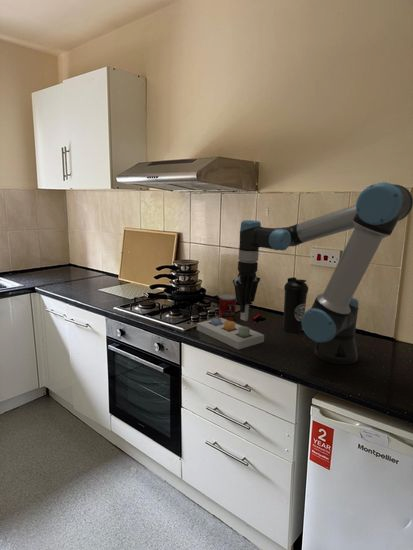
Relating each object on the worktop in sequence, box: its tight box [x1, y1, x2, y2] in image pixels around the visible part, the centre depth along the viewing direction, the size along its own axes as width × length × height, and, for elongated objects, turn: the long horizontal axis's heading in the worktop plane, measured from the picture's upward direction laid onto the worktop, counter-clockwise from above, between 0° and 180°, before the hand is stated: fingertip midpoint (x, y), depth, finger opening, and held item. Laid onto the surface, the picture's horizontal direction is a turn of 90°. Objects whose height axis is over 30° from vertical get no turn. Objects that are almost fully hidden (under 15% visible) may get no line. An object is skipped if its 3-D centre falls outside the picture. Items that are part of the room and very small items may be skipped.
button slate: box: [210, 317, 221, 326], centre depth 167 cm, size 4×4×4 cm
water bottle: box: [282, 276, 309, 334], centre depth 170 cm, size 10×10×23 cm
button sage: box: [238, 325, 251, 338], centre depth 154 cm, size 4×4×4 cm
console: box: [196, 317, 265, 350], centre depth 161 cm, size 26×14×3 cm, turn 39°
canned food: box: [218, 294, 237, 321], centre depth 182 cm, size 8×8×11 cm
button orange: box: [224, 320, 236, 332], centre depth 161 cm, size 4×4×4 cm
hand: (244, 319), depth 153 cm, fingers closed
